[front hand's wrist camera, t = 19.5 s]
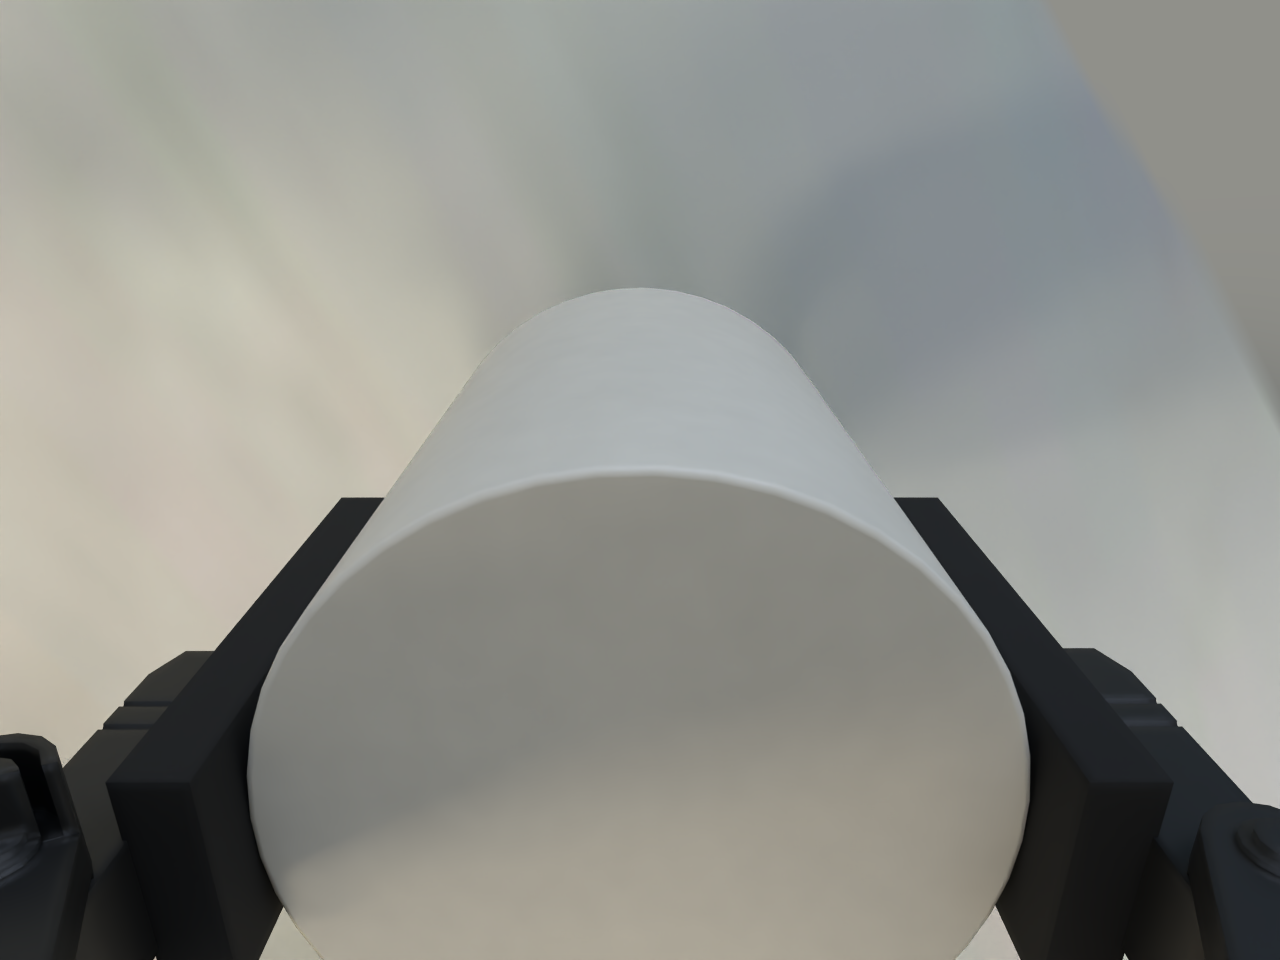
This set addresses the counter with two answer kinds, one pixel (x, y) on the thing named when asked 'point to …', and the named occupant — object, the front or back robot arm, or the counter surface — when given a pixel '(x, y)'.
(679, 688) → the cylinder
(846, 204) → the counter surface
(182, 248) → the counter surface
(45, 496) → the counter surface
